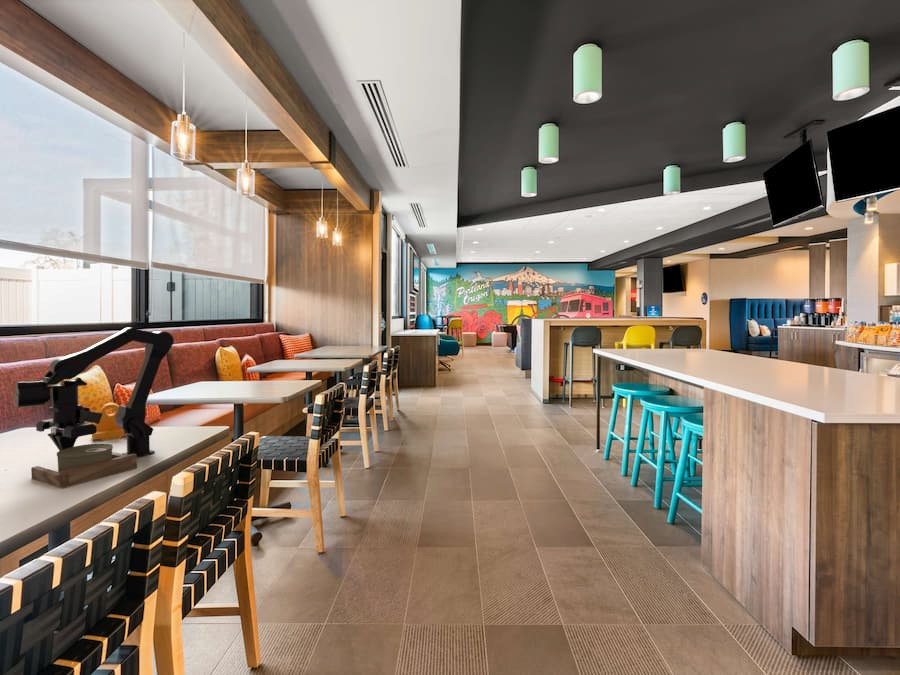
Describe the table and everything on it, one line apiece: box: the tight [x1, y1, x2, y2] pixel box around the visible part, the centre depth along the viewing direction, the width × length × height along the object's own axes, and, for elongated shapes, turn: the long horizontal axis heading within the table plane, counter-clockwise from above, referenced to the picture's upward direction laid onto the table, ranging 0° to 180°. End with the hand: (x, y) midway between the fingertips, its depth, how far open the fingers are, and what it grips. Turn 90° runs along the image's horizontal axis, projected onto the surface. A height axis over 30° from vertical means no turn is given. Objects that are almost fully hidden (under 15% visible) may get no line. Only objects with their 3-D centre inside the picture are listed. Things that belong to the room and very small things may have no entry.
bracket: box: [91, 402, 127, 441], centre depth 165 cm, size 11×7×12 cm, turn 126°
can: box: [56, 443, 114, 472], centre depth 127 cm, size 12×12×7 cm
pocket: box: [30, 451, 138, 489], centre depth 127 cm, size 15×18×4 cm
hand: (66, 457), depth 131 cm, fingers closed
